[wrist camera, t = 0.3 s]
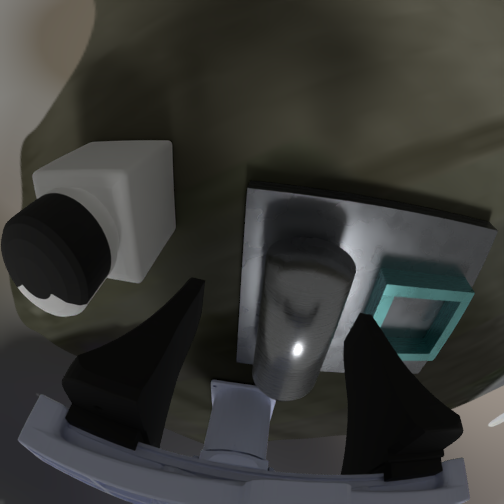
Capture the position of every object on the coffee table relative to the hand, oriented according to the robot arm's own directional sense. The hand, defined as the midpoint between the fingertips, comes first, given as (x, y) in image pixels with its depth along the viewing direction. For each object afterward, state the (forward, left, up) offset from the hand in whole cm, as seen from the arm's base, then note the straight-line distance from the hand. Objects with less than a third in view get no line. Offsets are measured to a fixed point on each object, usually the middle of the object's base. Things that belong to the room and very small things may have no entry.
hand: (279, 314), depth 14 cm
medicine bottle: (+1, +12, -10) cm, 16 cm away
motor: (-7, -7, -10) cm, 14 cm away
